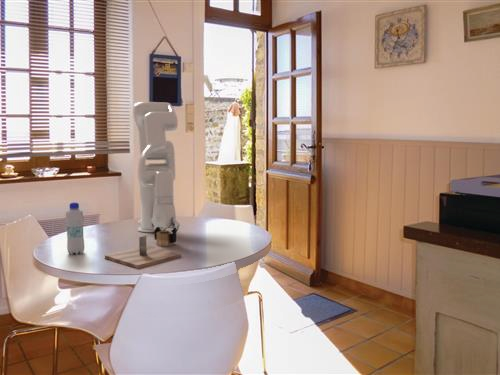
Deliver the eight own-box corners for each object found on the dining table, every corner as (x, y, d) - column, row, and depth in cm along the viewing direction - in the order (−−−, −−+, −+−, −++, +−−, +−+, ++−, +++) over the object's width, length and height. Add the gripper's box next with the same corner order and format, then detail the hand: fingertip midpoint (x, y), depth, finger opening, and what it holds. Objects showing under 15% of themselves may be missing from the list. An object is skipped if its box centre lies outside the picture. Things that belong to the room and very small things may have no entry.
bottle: (88, 251, 190) (86, 201, 187) (77, 256, 184) (75, 204, 181) (74, 250, 192) (72, 200, 189) (63, 254, 186) (60, 203, 183)
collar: (153, 244, 202) (153, 232, 201) (166, 241, 207) (166, 230, 206) (164, 246, 198) (164, 235, 197) (176, 243, 203) (176, 232, 202)
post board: (104, 258, 180) (104, 236, 179) (148, 248, 196) (147, 228, 194) (137, 268, 168) (136, 245, 166) (181, 256, 183) (180, 235, 182)
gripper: (144, 199, 203) (145, 239, 205) (171, 203, 192) (172, 245, 194) (158, 197, 208) (159, 236, 211) (185, 201, 197) (185, 242, 199)
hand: (165, 240), depth 202 cm, fingers open, 9 cm apart
